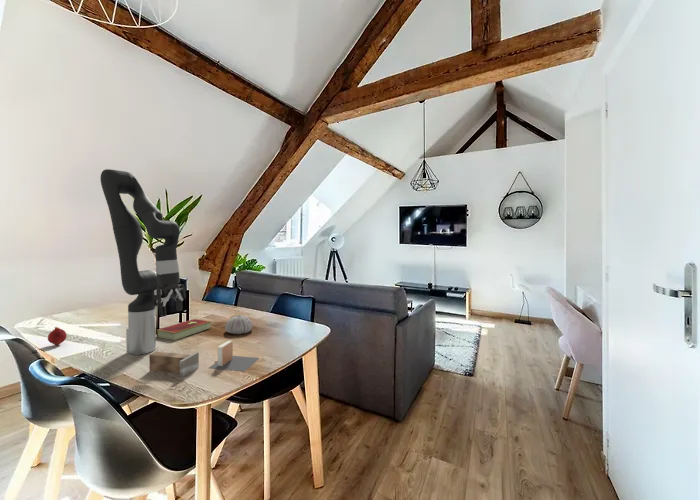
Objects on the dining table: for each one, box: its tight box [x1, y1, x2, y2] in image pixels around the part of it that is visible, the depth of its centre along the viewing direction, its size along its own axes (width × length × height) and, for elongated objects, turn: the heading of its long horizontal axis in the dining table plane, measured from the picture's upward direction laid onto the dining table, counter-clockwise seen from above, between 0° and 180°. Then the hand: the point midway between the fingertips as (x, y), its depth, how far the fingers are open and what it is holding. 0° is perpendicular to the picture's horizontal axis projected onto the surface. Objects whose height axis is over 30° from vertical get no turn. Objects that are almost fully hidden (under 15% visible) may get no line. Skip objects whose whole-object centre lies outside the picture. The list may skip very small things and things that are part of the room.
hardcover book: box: [156, 318, 212, 341], centre depth 149 cm, size 12×21×4 cm, turn 158°
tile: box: [217, 340, 234, 366], centre depth 113 cm, size 2×7×7 cm, turn 170°
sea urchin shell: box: [224, 314, 254, 335], centre depth 151 cm, size 13×14×8 cm
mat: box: [208, 355, 260, 373], centre depth 113 cm, size 14×12×1 cm
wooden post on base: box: [148, 351, 200, 378], centre depth 106 cm, size 15×8×6 cm, turn 81°
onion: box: [47, 326, 68, 346], centre depth 129 cm, size 6×6×8 cm
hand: (171, 313), depth 116 cm, fingers open, 8 cm apart
